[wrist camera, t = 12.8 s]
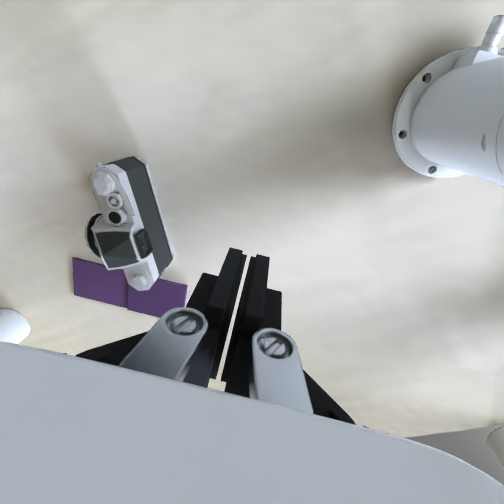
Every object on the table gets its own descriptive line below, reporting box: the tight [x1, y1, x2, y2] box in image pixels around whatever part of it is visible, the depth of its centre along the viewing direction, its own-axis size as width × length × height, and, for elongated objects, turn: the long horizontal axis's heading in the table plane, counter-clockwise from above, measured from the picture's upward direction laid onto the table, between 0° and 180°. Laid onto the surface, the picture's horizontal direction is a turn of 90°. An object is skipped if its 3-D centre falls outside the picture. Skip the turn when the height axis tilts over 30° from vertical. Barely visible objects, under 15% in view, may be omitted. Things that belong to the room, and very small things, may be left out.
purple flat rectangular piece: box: [72, 257, 187, 318], centre depth 46 cm, size 7×18×1 cm, turn 77°
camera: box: [85, 156, 174, 291], centre depth 36 cm, size 16×9×10 cm, turn 9°
